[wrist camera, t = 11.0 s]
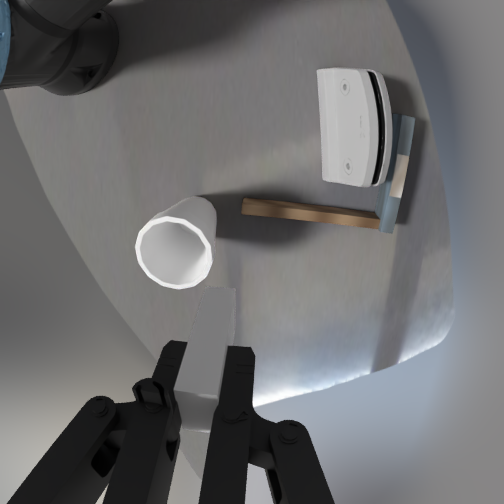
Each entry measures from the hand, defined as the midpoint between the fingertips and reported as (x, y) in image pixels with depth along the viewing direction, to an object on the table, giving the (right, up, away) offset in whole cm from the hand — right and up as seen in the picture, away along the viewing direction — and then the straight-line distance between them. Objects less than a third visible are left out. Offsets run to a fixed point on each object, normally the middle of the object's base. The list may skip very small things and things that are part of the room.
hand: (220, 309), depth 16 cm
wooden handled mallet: (+12, +16, +26) cm, 33 cm away
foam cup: (-7, +8, +31) cm, 33 cm away
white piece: (+15, +21, +24) cm, 35 cm away
